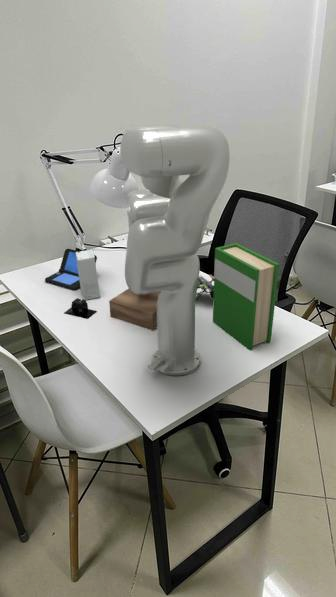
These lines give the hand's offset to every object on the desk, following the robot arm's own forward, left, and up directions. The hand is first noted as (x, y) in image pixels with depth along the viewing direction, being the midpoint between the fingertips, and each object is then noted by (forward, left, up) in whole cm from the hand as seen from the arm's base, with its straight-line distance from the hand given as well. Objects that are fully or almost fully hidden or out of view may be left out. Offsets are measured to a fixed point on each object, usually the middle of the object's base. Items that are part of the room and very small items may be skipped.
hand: (145, 289), depth 133 cm
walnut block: (0, 0, -9) cm, 9 cm away
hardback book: (+6, -30, -8) cm, 32 cm away
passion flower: (+16, -11, -8) cm, 21 cm away
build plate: (-12, +17, -9) cm, 23 cm away
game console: (+4, +38, -9) cm, 39 cm away
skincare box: (-1, +24, -8) cm, 25 cm away
